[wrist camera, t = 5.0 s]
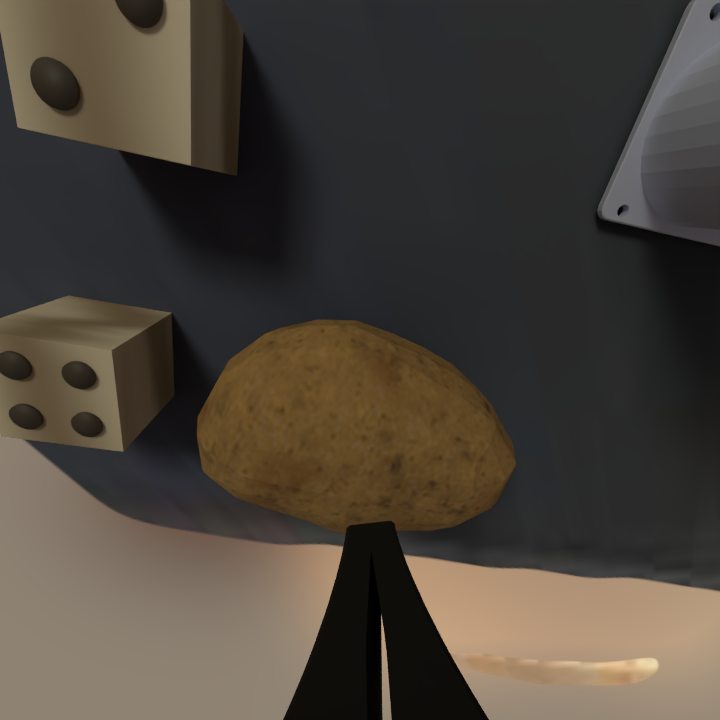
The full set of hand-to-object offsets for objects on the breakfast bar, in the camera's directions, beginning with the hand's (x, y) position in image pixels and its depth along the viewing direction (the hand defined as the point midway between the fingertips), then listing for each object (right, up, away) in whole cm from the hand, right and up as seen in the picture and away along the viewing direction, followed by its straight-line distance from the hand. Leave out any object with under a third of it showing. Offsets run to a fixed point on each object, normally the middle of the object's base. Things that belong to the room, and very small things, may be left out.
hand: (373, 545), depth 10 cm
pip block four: (-13, +6, +8) cm, 17 cm away
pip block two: (-8, +16, +4) cm, 19 cm away
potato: (0, +4, +10) cm, 11 cm away
